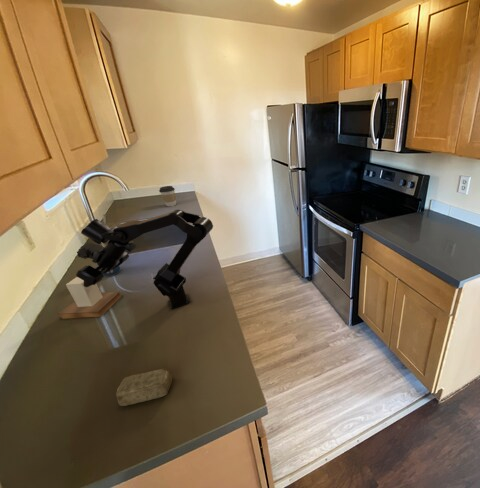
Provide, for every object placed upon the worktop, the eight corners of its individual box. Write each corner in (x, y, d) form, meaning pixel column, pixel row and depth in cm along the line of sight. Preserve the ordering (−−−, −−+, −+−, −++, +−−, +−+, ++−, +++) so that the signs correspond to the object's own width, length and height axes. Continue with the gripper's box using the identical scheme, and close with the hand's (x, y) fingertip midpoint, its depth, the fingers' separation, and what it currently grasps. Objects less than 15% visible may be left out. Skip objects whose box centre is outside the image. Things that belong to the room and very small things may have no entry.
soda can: (116, 268, 134) (107, 245, 128) (124, 271, 130) (114, 248, 125) (100, 274, 128) (90, 252, 123) (108, 278, 125) (97, 255, 120)
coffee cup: (181, 204, 229) (176, 186, 222) (166, 208, 221) (161, 189, 215) (175, 202, 236) (170, 184, 229) (161, 205, 229) (156, 187, 222)
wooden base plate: (122, 296, 112) (120, 291, 111) (101, 316, 100) (98, 311, 99) (86, 298, 111) (83, 293, 110) (61, 319, 100) (57, 313, 99)
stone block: (169, 396, 70) (163, 383, 68) (118, 410, 68) (110, 396, 65) (174, 377, 75) (168, 365, 73) (127, 389, 73) (120, 376, 70)
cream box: (102, 297, 107) (92, 275, 103) (92, 306, 102) (81, 283, 98) (88, 298, 107) (77, 276, 103) (77, 307, 102) (65, 284, 98)
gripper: (109, 226, 102) (91, 254, 107) (68, 249, 85) (49, 281, 90) (137, 244, 106) (119, 270, 110) (104, 269, 89) (84, 299, 93)
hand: (94, 279), depth 101 cm, fingers open, 9 cm apart
